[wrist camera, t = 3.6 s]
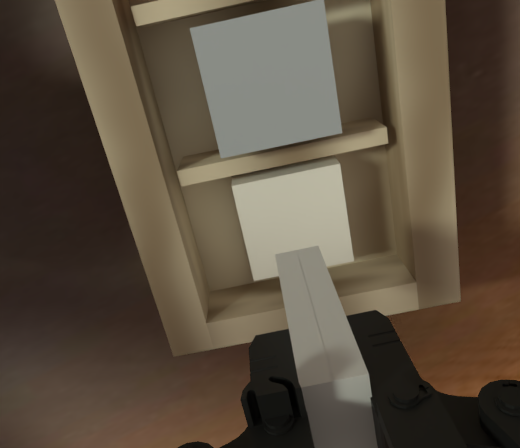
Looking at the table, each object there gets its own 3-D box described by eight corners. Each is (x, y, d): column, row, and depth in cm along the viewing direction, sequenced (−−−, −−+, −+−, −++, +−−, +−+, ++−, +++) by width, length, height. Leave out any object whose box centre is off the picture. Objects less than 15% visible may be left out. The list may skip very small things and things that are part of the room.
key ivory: (252, 261, 25) (253, 281, 23) (232, 173, 23) (231, 186, 21) (345, 243, 24) (354, 261, 23) (331, 152, 23) (339, 163, 21)
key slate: (222, 146, 21) (221, 158, 19) (194, 28, 19) (189, 28, 17) (333, 123, 20) (342, 132, 19) (315, 1, 19) (323, -2, 17)
